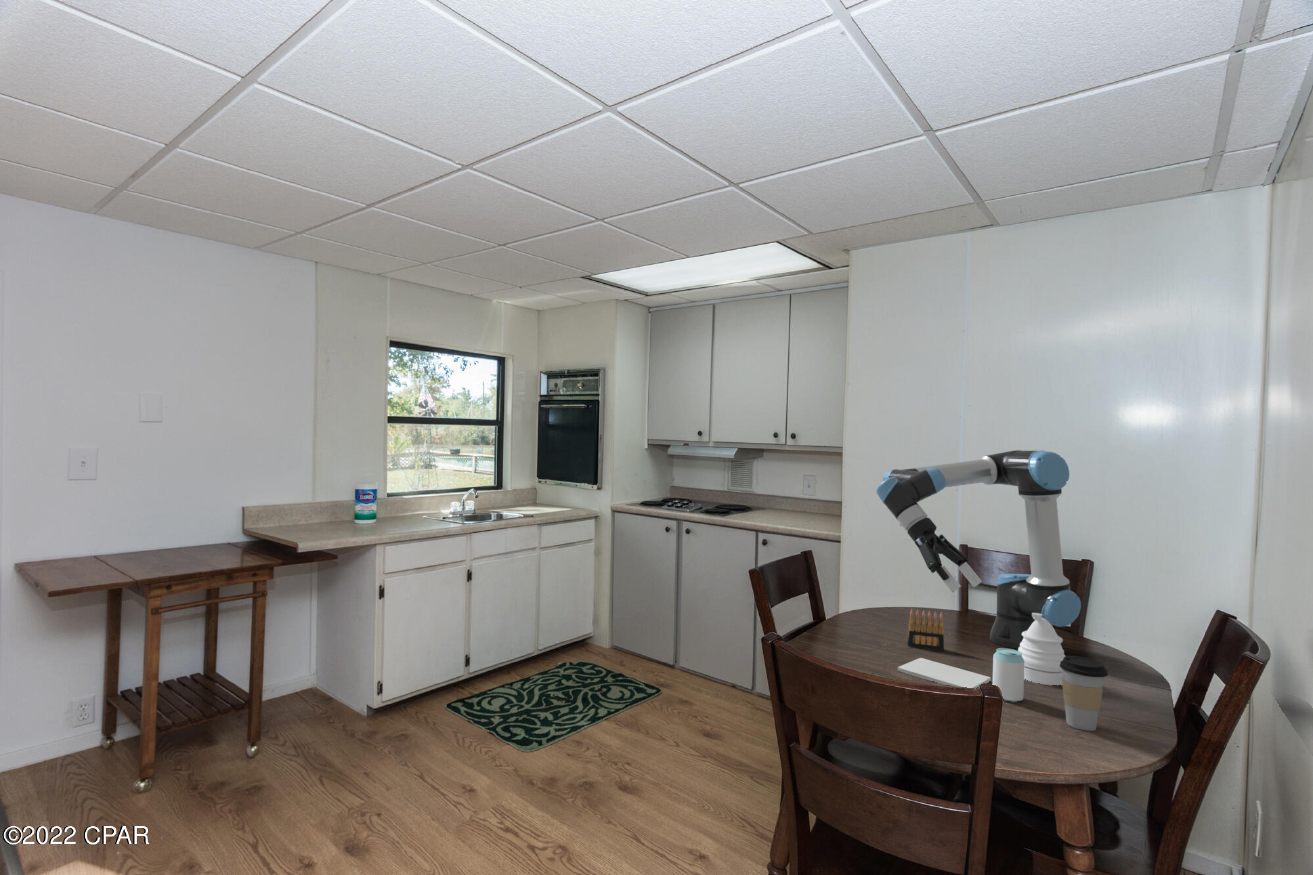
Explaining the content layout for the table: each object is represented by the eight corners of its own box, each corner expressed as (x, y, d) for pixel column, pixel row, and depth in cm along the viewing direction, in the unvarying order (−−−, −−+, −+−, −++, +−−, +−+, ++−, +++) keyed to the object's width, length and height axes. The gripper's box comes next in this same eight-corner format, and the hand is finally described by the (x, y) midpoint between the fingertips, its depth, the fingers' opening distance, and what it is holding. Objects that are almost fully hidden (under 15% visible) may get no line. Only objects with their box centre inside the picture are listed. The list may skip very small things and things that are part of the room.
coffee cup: (1048, 716, 154) (1050, 654, 154) (1085, 716, 155) (1087, 654, 155) (1077, 734, 145) (1079, 668, 145) (1116, 734, 146) (1118, 668, 146)
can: (1023, 696, 167) (1024, 650, 167) (1022, 705, 161) (1024, 657, 161) (992, 690, 170) (994, 645, 170) (991, 699, 164) (992, 652, 164)
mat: (897, 670, 183) (897, 667, 183) (920, 660, 192) (920, 657, 192) (969, 692, 168) (969, 689, 168) (990, 681, 177) (990, 677, 177)
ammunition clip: (943, 649, 205) (944, 611, 205) (944, 650, 203) (945, 612, 203) (907, 644, 208) (908, 607, 208) (907, 646, 206) (909, 609, 206)
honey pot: (1041, 687, 174) (1043, 620, 174) (1004, 670, 186) (1006, 608, 187) (1078, 684, 177) (1080, 619, 178) (1039, 667, 190) (1041, 607, 190)
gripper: (927, 530, 196) (976, 589, 184) (886, 534, 179) (936, 599, 168) (946, 515, 192) (996, 574, 180) (905, 517, 175) (958, 583, 164)
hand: (967, 586), depth 174 cm, fingers open, 13 cm apart
